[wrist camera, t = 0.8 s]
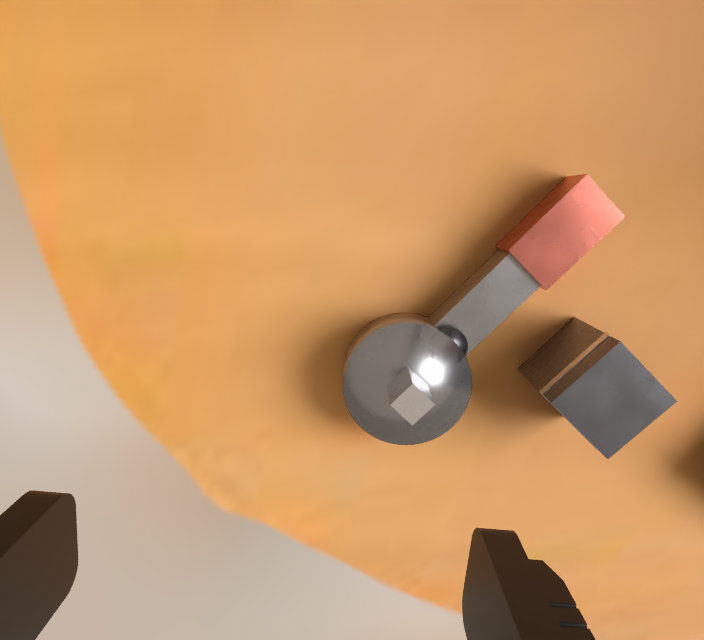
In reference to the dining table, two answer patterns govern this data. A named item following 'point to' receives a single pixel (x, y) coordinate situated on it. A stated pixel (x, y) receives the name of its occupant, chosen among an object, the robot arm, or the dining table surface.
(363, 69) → the dining table surface
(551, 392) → the grey block
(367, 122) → the dining table surface
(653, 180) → the dining table surface
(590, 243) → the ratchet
